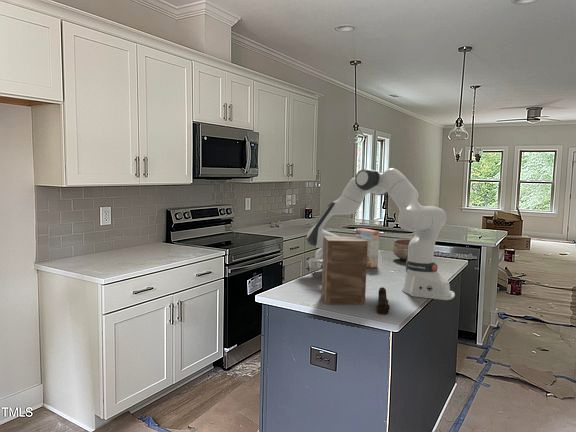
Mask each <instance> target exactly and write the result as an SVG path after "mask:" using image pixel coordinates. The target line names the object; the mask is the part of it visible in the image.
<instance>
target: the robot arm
mask: <svg viewBox="0 0 576 432" xmlns="http://www.w3.org/2000/svg"><path fill="white" fill-rule="evenodd" d="M368 194H371V195H375V196H386V195H389V196H390V198H391V199H392V201H393V203H395V205H396V206H397V208H398V211H399V214H398V217H397V222H398V226H400V228H401V229H402V230H404V231H409V232H413V233H414V232H415V234H414V236H413V238H411V239H412V240H411V241H410V242H409V245H408V260H407V261H405V262H406V263H405V272H406V275H405V280H404V283H403V287H402V290H401V291H402V292H404V293H406V294H407V295H409V296H411V297H416V298H422V299H423V298H425V299H433V300H443V301H449V300H452V299H454V298H455V296H456V294H455V292H454V291H453V290H451V287H450V282H449V280H448V279H447V278H445V277H444V276H443V275H442V274H441V273H440V272H439V271H438V267H439V266H438V265H439V264H438V263H435V262H434V253H435V246H436V241H437V239H438V236H439V233H440V231H441V229H442V228H443V227H444V226H445V225H446V224H447V221H448V220H447V217H448V216H447V213H446V211H445V210H444V209H443V208H441V207H438V206H435V205H425V206H424V205H422V204H421V203H419V200H418V199H419V192H418V190H417V189H416V188H415V187H414V185H413V184H412V183H411V181H410V180H409V179H408V178H407V177H406V176H405V175H404V173H402V172H401V171H400V170H398V169H397V168H393V167H391V168H388V169H386V170H385V171H384V172H380V171H377V170H375V169H373V168H372V169H371V168H363V169H359V171H358V172H357V173H356V175H355V176H354V177H352V178H351V179H350V180H349V181H348V182H347V184H346V186H345V187H344V189H343V190H342V193H341V195H340V196H339V198H337V199H336V200H333V201H331V202H330V203H329V204H328V205H327V206H326V208H325V209H324V210H323V212H322V213H321V215H320V216H319V218H317V220H316V221H315V223H314V224H313V226H311V228H310V229H309V230H308V232H307V235H306V237H305V238H306V241H307V243H308V245H310V246H313V247H317V248H318V249H317V250H316V251H315V253H314V257H310V258H309V259H307V260H306V263H307V264H308V268H311V269H322V263H323V236H339V235H337V234H335V233H332V232H330V231H328V230H325V229H323V228H324V226H325V225H326V224H327V222H328V221H329V219H330V218H331V217H332V216H333V217H334V216H335V215H336V216H337V215H347V216H348V215H353V214H354V213H355V214H356V212H358V210H359V209H360V208H361V205H362V203H363V201H364V199H365V197H366V196H367V195H368Z"/></svg>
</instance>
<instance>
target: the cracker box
mask: <svg viewBox="0 0 576 432" xmlns="http://www.w3.org/2000/svg"><path fill="white" fill-rule="evenodd" d="M355 237H362V238H364V239H365V240H367V241H368V247H367V268H370V269H372V268H378V266H379V249H380V248H379V247H380V246H379V245H380V230H374V229H369V228H363V227H362V228H361V227H360V228H359V227H358V228H355Z"/></svg>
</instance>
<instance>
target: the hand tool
mask: <svg viewBox="0 0 576 432" xmlns="http://www.w3.org/2000/svg"><path fill="white" fill-rule="evenodd" d="M387 297H388V296H387V289H386V288H385V287H384V286H382V287H379V289H378V299H377V305H376V313H377V315H388V314H389V311H390V309H391V306H390V304H389V300H388V298H387Z"/></svg>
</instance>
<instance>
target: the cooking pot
mask: <svg viewBox="0 0 576 432" xmlns="http://www.w3.org/2000/svg"><path fill="white" fill-rule="evenodd" d="M412 239H413V238H396V239H394V243H393V245H392V252H393V254H394V256H396V257H397V258H399V259H400V260H401V261H403V262H407V260H408V245H409V242H410V241H411V240H412Z"/></svg>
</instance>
